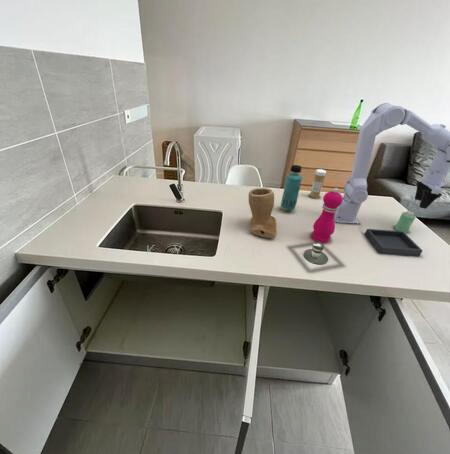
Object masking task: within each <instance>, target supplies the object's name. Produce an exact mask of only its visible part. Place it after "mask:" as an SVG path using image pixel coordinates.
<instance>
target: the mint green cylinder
mask: <svg viewBox="0 0 450 454" xmlns="http://www.w3.org/2000/svg"><path fill="white" fill-rule="evenodd" d="M415 220H416V214H415V213H414V212H413V211H410V210H406V211H403V212H402V213H401V215H400V217H399V219H398V221H397V223H396V225H395V227H394V229H395V231H403V232H404V233H405V234H407V233H408V232H409V230H410V228H411V227H412V225H413V223H414V221H415Z"/></svg>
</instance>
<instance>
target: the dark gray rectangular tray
mask: <svg viewBox="0 0 450 454" xmlns="http://www.w3.org/2000/svg"><path fill="white" fill-rule="evenodd" d="M364 235H365V236H366V238H367V239H368V241H369V242H370V243H371V244H372V246H373V247H374V248H375V250H376V251H377V253H379V254H385V255H397V256H410V257H411V256H412V257H420V256H421V254H422V253H423V249H422V248H421V247H420V246H419V245H418V244H417V243H416V242H415V241H414V240H413V239H411V237H410V236H408V234H407V233H404V232H403V231H397V230H388V229H378V228H377V229H375V228H366V230H365V233H364Z"/></svg>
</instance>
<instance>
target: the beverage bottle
mask: <svg viewBox="0 0 450 454" xmlns="http://www.w3.org/2000/svg"><path fill="white" fill-rule="evenodd" d="M301 172H302V165H299V164H293V165H291V167H290V172H289V173H288V174H286V177H285V183H284V188H283V192H282V197H281V200H280V201H281V202H280V208H282V209H283V210H285V211H294V210H295V209H296V207H297V206H296V205H297V203H298V199H299V194H300V193H299V192H300V190H301V183H302V179H303V176H302V174H300V173H301Z"/></svg>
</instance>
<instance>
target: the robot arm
mask: <svg viewBox="0 0 450 454" xmlns="http://www.w3.org/2000/svg"><path fill="white" fill-rule="evenodd" d="M398 125H400V126H405V125H406V126H408V127H410V128H412V129H413V130H415V131H417V132H419V133H421V139H422V140H423V141H424V142H426V143H428V144H430V145H431V146H433V147H434V148H435V149H436V150H437V151H436V153H435V154H434V156H433V159H432V160H431V163H430V164H429V166H428V169H427V170H426V172H425V174H424V175H423V176H422V178H421V180H416V191H415V195H414V201H415V200H416V201H420V202H419V205H418V206H419V207H418V208H420V209H425V210H426V209H428V208H429V206H430V205H432V203H433V202H434V201H436V200H437V199H440V198H441V197H442V195H443V194H442V193H441V191H442V189H441V187H445V186H446V184H445V182H444V180H445V178H446V177H447V175H448V173H449V171H450V131H449V130H448V129H447V128H446V127H447V126H446V125H445V124H442V123H440V124H439V123H434V124H430V123H429V122H428V121H426V120H425V119H423V118H422V117H420V116H419V115H417V114H416V113H415V112H413V111H412V110H409V109H407V108H404V107H403V106H400V105H395V104H391V103H389V102H383V103H381V104H378V105H377V106H376V107H375V108H373V109H372V110H370V113H369V116H368V117H367V119H366V120H365V121H364V122H363V124H362V126H361V127H360V129H359V132H358V137H357V143H356V149H355V154H354V159H353V164H352V169H351V175H350V176H348V178H347V181H346V183H345V184H344V186H343V191H344V194H343V195H342V198H343V201H342V204H341V205H340V206H338V211H337V212H335V215H334V223H343V224H354V225H355V224H357V225H359V224H360V222H359V220H358V219H357V216H358V214H359V211H360V209H361V206H362V204H363V203H364V202H366V200H367V199H368V198H369V193H368V182H367V177H368V172H369V168H370V164H371V159H372V155H373V150H374V145H375V142H376V137H377V136H378V135H379V134H381V133H383V132H384V131H387V130H389V129H392V128H395V127H397V126H398Z"/></svg>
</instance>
